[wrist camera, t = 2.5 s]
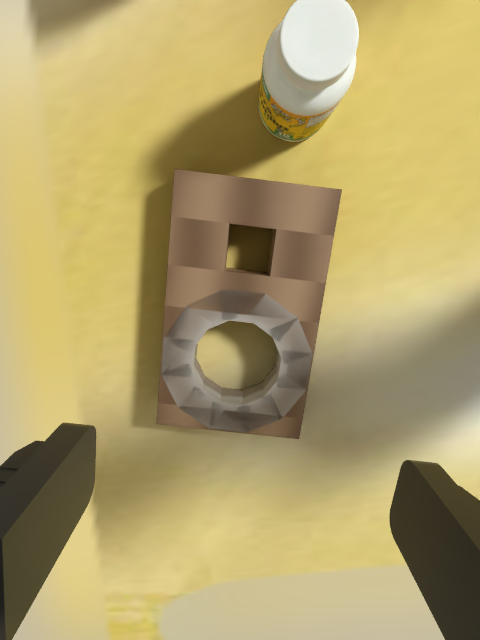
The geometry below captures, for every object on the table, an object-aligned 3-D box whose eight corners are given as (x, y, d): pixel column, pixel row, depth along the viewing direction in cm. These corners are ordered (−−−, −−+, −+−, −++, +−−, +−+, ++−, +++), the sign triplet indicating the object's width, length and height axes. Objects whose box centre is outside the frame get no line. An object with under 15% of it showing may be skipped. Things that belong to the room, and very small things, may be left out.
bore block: (331, 194, 29) (341, 189, 26) (293, 421, 33) (298, 438, 30) (181, 175, 28) (174, 168, 26) (163, 407, 33) (156, 423, 30)
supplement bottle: (341, 117, 28) (392, 57, 18) (280, 157, 28) (300, 119, 19) (305, 49, 27) (342, -53, 17) (244, 92, 27) (246, 17, 18)
